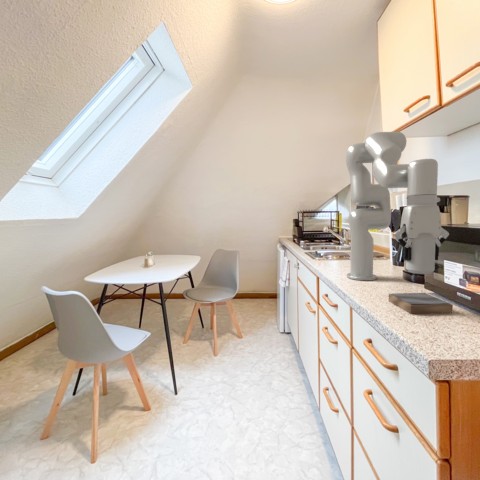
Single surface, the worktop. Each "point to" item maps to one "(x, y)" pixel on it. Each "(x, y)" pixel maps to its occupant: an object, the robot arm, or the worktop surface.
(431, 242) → the can
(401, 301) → the plinth
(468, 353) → the worktop surface
